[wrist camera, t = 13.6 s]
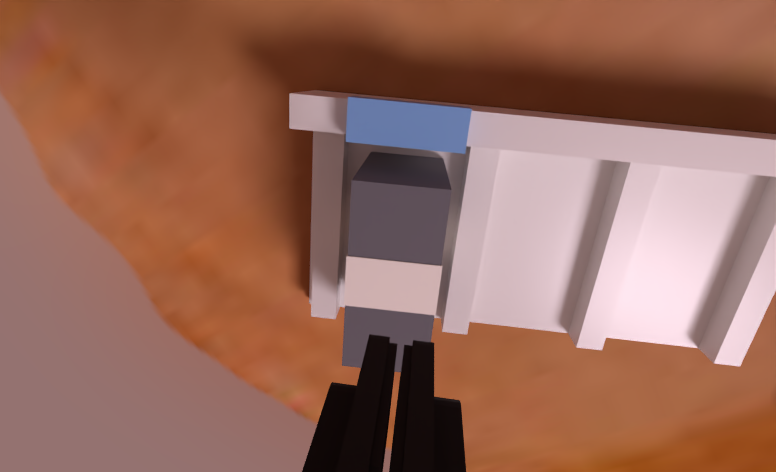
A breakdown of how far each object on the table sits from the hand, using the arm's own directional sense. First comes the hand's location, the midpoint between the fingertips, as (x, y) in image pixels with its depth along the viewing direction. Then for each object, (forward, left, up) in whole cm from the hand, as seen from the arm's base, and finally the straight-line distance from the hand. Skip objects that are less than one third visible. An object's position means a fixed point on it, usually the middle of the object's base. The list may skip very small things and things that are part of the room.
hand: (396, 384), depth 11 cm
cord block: (+1, 0, -15) cm, 15 cm away
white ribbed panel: (0, +8, -15) cm, 17 cm away
